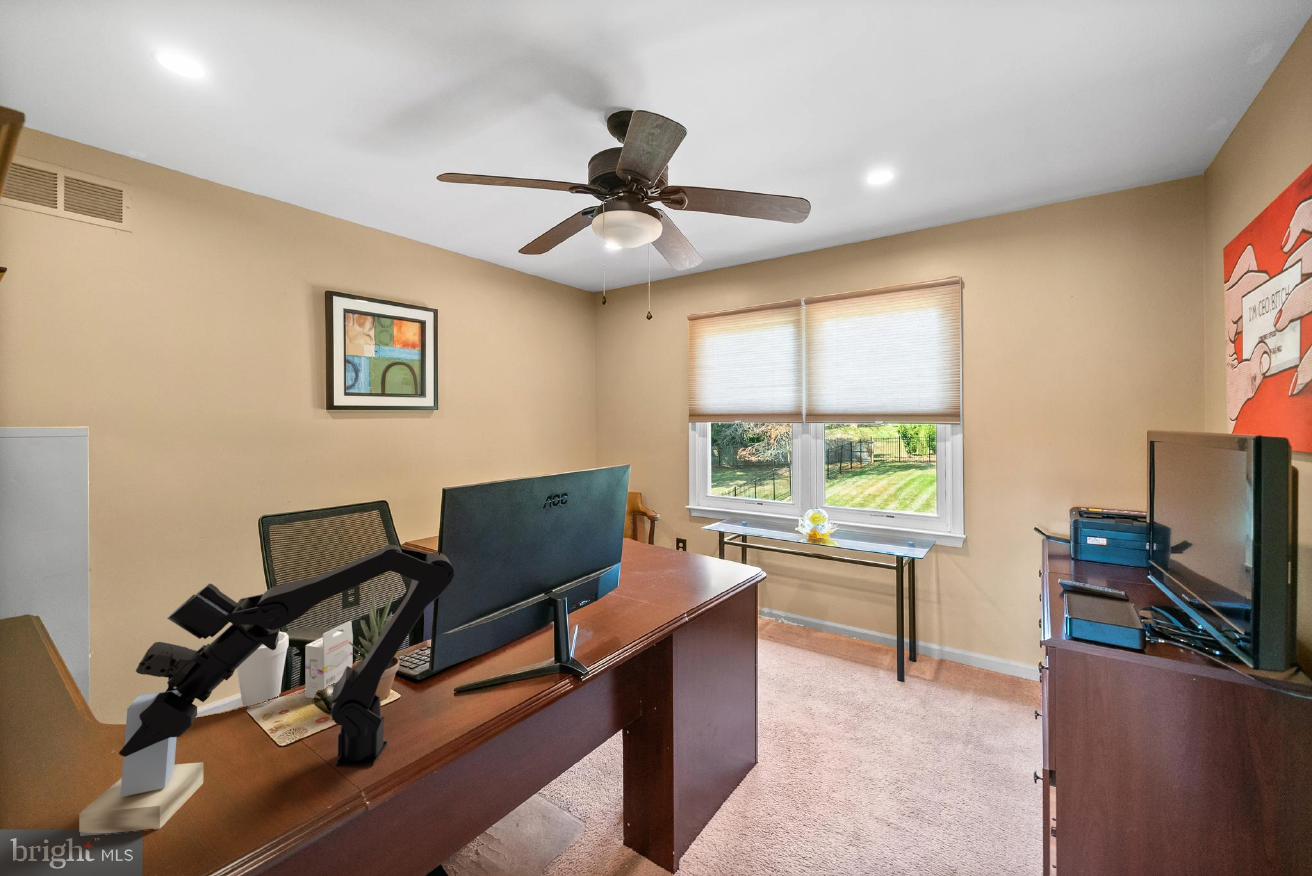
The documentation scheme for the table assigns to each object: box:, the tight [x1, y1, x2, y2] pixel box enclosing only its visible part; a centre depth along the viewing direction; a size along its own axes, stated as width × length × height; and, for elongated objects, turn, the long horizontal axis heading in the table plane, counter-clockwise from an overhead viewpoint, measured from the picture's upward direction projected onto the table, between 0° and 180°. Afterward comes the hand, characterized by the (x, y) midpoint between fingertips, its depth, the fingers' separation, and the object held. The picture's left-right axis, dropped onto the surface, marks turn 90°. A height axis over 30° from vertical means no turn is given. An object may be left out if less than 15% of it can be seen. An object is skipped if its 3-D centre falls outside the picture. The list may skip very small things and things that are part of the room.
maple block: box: [78, 761, 204, 833], centre depth 82 cm, size 10×10×4 cm
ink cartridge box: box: [304, 620, 354, 699], centre depth 118 cm, size 9×5×15 cm, turn 168°
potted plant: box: [349, 585, 400, 701], centre depth 116 cm, size 10×10×25 cm
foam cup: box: [236, 631, 290, 708], centre depth 113 cm, size 10×9×13 cm
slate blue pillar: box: [120, 690, 179, 797], centre depth 82 cm, size 5×5×13 cm
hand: (134, 737), depth 81 cm, fingers open, 9 cm apart
